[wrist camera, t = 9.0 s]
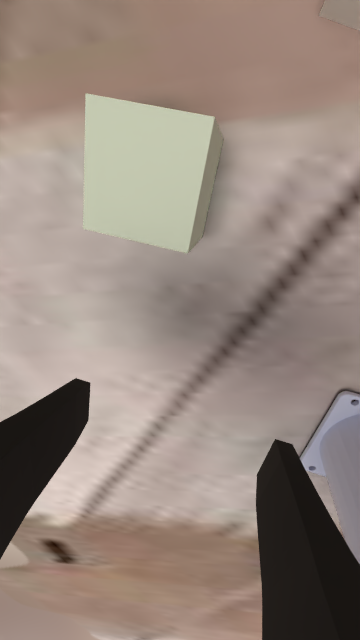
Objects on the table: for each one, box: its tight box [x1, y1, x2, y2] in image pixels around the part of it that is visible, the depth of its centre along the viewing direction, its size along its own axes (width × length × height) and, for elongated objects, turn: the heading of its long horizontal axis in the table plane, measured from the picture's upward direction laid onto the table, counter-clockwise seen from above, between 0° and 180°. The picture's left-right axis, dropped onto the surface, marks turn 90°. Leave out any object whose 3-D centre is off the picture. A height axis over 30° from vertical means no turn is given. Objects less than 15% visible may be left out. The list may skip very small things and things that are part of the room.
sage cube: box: [83, 94, 223, 254], centre depth 13 cm, size 5×5×5 cm
